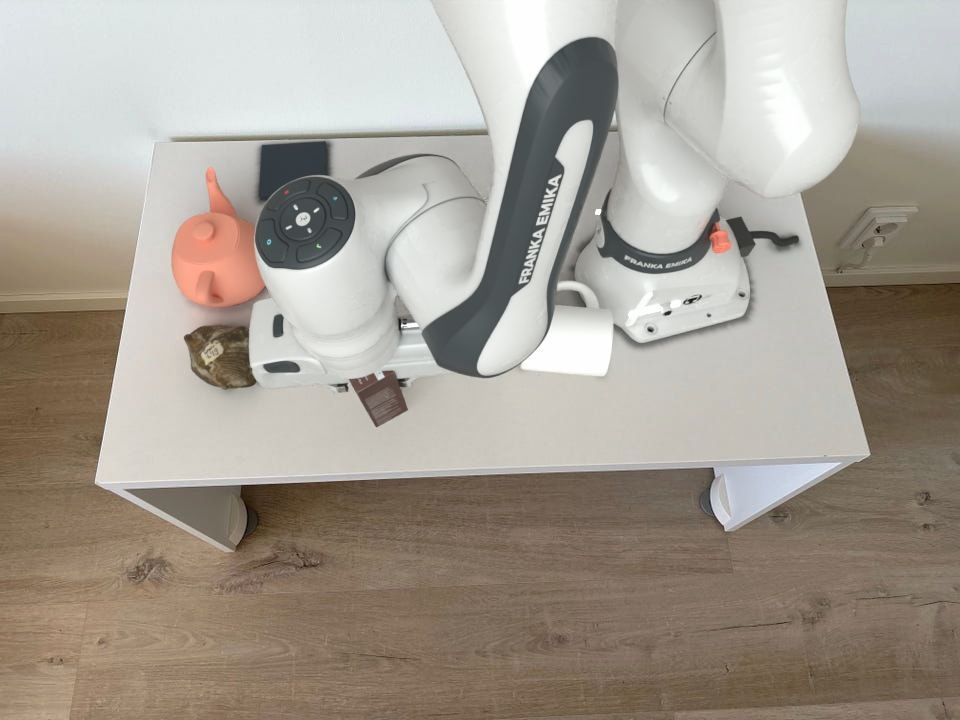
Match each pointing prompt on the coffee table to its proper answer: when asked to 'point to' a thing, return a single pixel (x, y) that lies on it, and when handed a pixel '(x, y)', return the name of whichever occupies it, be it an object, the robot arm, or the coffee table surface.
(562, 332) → the mug
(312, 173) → the mat
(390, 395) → the box
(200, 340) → the fossilized seashell
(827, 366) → the coffee table surface
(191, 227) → the teapot
